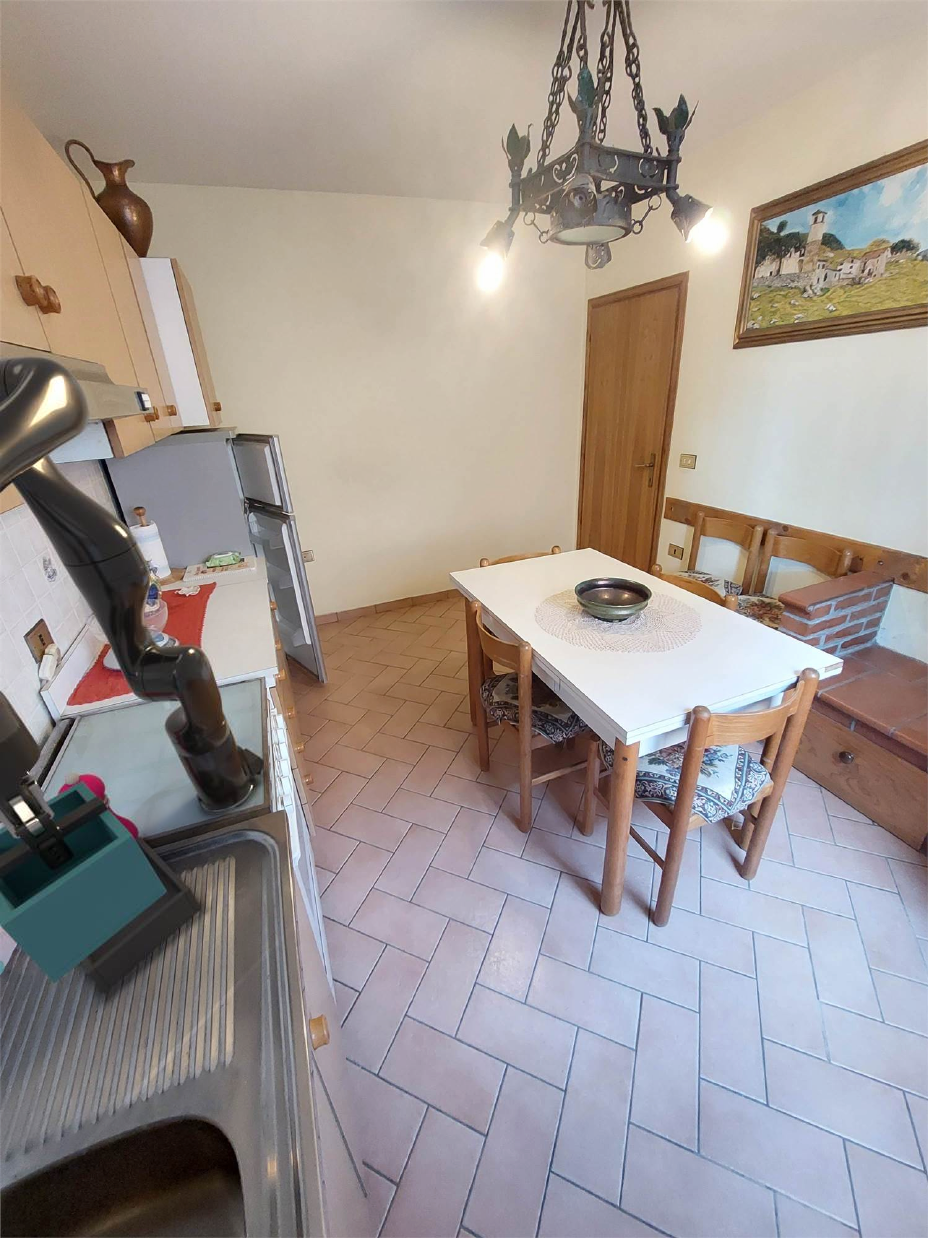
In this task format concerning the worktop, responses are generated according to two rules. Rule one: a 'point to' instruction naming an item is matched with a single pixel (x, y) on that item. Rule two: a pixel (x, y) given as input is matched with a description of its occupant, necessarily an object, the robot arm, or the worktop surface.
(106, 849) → the teal tote
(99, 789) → the pepper mill
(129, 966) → the charcoal bin
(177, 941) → the worktop surface
